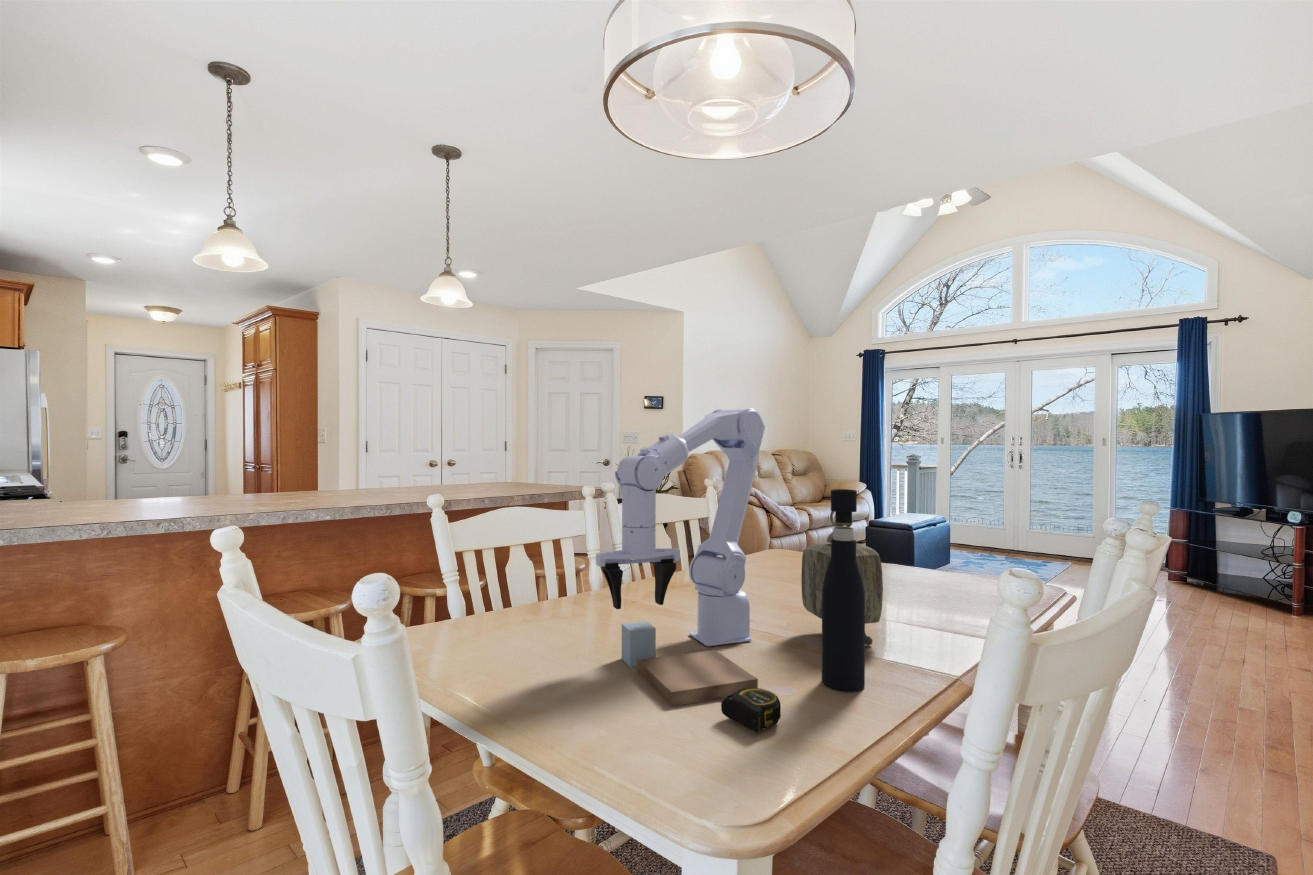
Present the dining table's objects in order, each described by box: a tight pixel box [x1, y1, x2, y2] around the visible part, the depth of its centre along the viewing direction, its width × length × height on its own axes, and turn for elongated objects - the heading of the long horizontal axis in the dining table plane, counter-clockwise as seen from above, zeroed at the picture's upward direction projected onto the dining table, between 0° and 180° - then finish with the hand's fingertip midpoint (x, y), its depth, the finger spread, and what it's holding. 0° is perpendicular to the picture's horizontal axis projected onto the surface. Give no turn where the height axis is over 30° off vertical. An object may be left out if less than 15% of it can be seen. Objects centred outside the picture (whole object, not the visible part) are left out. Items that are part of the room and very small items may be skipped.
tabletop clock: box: [800, 510, 884, 646], centre depth 121 cm, size 14×9×25 cm, turn 17°
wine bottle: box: [821, 488, 866, 693], centre depth 98 cm, size 6×6×30 cm
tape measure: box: [720, 687, 782, 734], centre depth 84 cm, size 7×7×4 cm
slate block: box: [621, 620, 657, 668], centre depth 108 cm, size 4×4×6 cm
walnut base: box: [636, 649, 759, 707], centre depth 98 cm, size 14×14×2 cm
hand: (638, 605), depth 108 cm, fingers open, 7 cm apart
